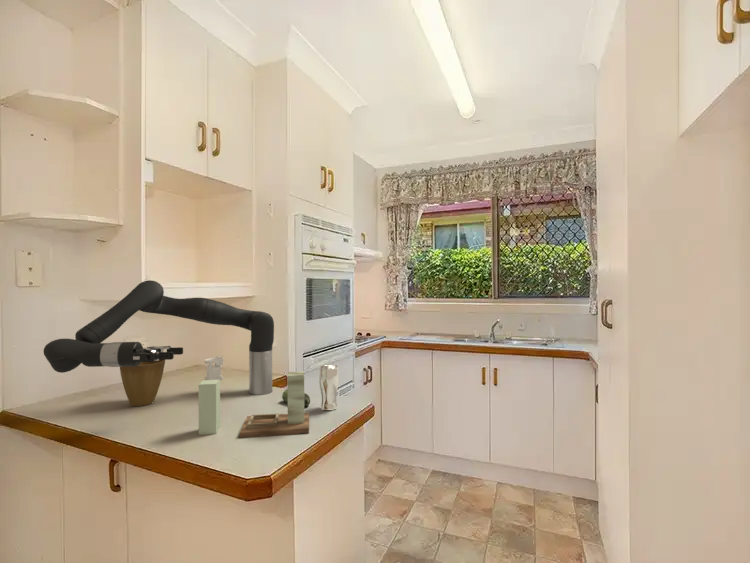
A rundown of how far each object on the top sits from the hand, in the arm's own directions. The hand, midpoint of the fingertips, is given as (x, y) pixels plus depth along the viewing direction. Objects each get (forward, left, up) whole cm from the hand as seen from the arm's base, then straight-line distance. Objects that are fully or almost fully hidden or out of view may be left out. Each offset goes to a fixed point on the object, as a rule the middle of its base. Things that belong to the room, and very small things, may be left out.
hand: (178, 353), depth 121 cm
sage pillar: (+5, +11, -23) cm, 26 cm away
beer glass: (-10, +48, -23) cm, 54 cm away
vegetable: (-17, +36, -24) cm, 46 cm away
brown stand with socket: (+5, +31, -23) cm, 39 cm away
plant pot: (-28, -21, -23) cm, 42 cm away
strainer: (-38, +2, -23) cm, 45 cm away
